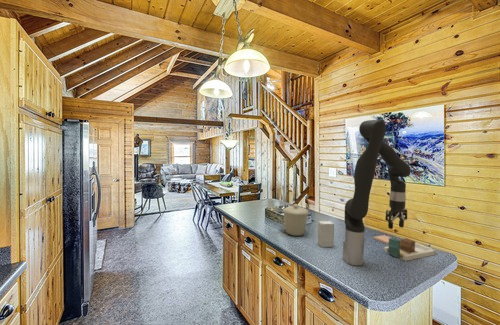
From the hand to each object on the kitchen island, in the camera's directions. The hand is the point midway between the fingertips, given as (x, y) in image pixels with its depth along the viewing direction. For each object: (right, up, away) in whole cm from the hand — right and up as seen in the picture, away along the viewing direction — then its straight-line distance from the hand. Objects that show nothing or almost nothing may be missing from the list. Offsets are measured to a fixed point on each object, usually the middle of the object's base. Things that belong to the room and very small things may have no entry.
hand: (395, 227), depth 125 cm
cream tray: (+12, -16, +5) cm, 20 cm away
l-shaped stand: (+6, -16, +3) cm, 17 cm away
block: (+9, -14, +4) cm, 18 cm away
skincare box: (-36, -15, +13) cm, 41 cm away
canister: (-51, -14, +33) cm, 62 cm away
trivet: (+8, -15, +23) cm, 29 cm away
